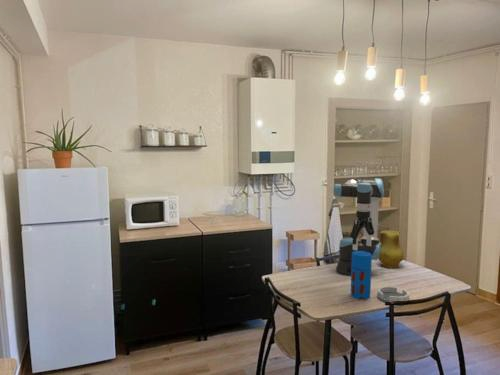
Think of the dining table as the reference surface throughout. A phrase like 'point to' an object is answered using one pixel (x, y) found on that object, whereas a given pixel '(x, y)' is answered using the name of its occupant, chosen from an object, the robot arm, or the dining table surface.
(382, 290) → the bayonet base
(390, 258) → the pitcher
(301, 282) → the dining table surface
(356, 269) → the thermos
